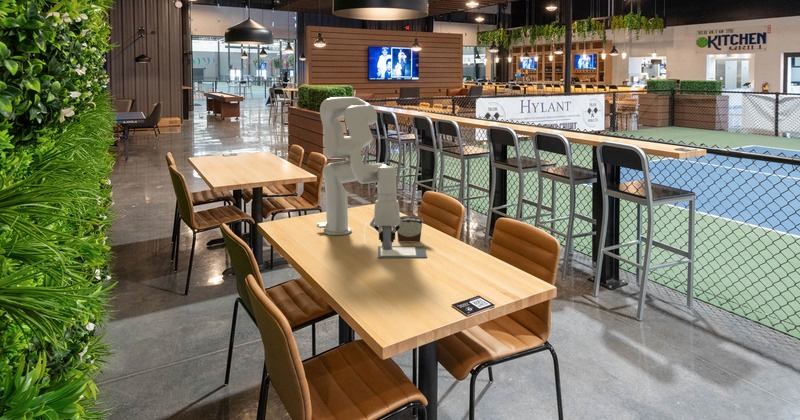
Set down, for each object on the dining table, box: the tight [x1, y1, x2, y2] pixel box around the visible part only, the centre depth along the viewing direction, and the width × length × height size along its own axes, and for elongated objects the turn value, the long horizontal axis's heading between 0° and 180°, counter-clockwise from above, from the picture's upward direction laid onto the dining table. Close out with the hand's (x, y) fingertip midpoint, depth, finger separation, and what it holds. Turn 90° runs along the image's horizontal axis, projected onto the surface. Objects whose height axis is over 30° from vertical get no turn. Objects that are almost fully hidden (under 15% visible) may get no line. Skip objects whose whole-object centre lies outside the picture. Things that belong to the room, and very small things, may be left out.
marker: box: [381, 226, 393, 250], centre depth 234 cm, size 4×4×13 cm
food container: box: [396, 215, 424, 243], centre depth 249 cm, size 12×6×10 cm, turn 84°
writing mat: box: [377, 245, 428, 259], centre depth 232 cm, size 19×15×1 cm
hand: (387, 241), depth 235 cm, fingers closed on marker, 3 cm apart
